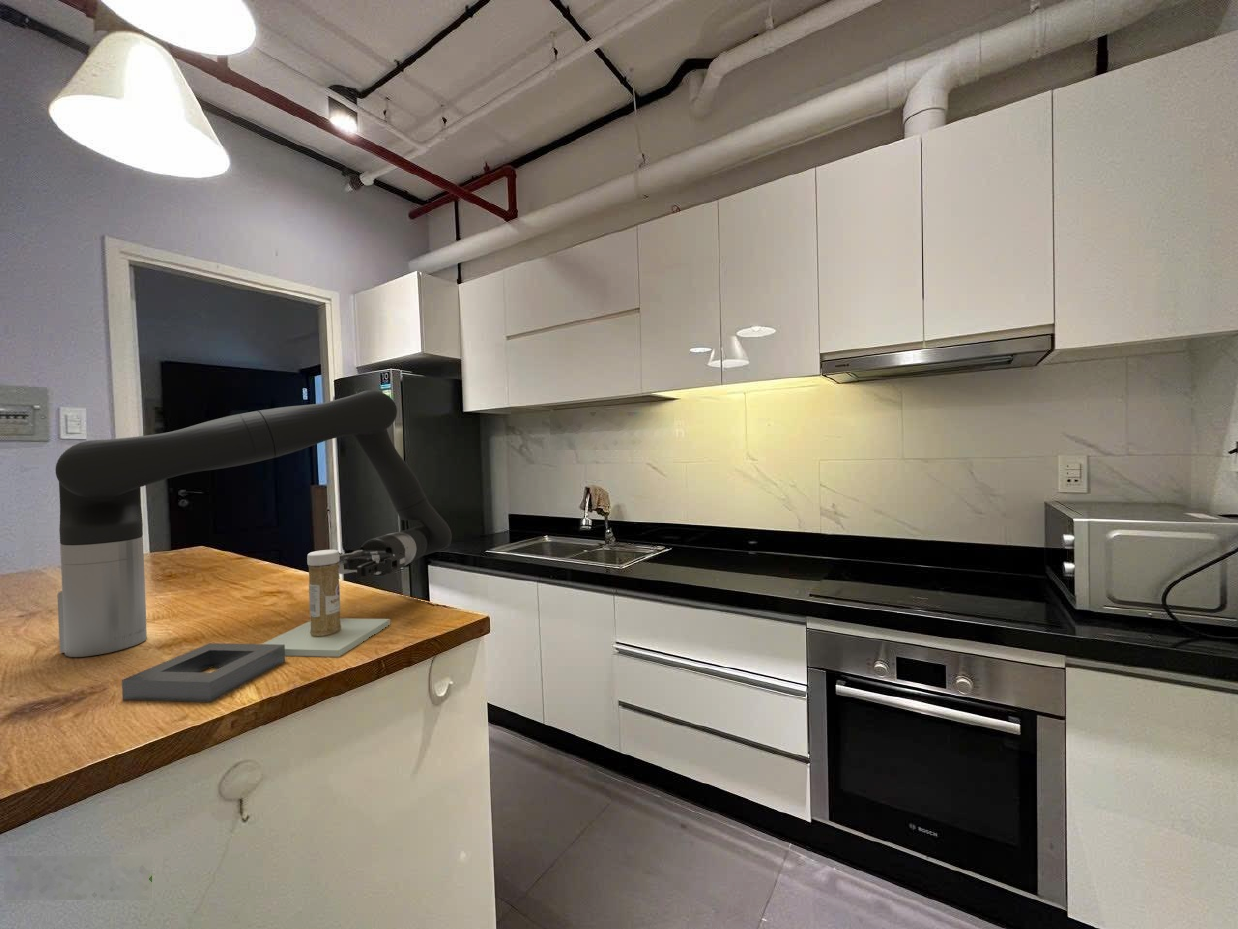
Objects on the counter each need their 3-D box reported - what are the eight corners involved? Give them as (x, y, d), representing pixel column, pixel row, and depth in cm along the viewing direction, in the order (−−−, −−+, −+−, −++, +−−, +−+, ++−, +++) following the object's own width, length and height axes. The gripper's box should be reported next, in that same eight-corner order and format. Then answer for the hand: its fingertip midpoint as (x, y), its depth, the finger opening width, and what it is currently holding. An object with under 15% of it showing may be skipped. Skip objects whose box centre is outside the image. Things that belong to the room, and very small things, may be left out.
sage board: (252, 655, 75) (252, 648, 75) (316, 623, 89) (316, 618, 89) (339, 656, 74) (338, 650, 74) (390, 624, 88) (390, 619, 88)
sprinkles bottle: (342, 633, 81) (340, 551, 81) (309, 639, 79) (307, 555, 78) (340, 625, 85) (338, 547, 85) (309, 631, 83) (306, 550, 82)
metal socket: (122, 699, 62) (121, 679, 62) (210, 659, 74) (209, 643, 74) (210, 702, 61) (210, 682, 61) (285, 661, 73) (284, 644, 73)
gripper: (355, 534, 101) (295, 550, 84) (421, 534, 99) (374, 550, 83) (356, 571, 101) (297, 594, 85) (423, 571, 99) (375, 595, 83)
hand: (335, 572), depth 84 cm, fingers open, 8 cm apart
